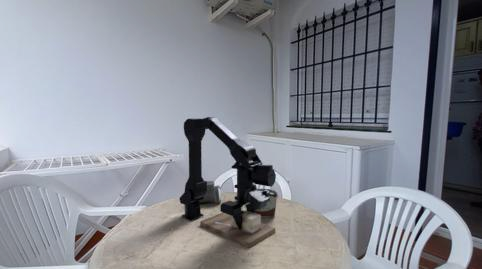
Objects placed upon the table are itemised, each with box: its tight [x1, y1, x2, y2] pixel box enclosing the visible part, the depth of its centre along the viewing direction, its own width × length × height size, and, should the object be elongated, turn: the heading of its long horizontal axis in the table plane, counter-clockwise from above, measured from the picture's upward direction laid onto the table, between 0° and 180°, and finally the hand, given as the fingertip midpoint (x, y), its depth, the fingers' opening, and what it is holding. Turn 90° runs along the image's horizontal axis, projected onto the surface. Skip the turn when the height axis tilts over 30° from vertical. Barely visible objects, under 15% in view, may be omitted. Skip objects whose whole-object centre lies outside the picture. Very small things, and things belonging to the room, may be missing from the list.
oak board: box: [199, 212, 276, 249], centre depth 87 cm, size 24×14×2 cm, turn 48°
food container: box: [256, 188, 279, 218], centre depth 99 cm, size 12×6×10 cm, turn 84°
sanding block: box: [231, 209, 262, 235], centre depth 83 cm, size 9×5×5 cm, turn 51°
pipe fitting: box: [199, 180, 222, 204], centre depth 114 cm, size 12×8×10 cm, turn 88°
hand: (245, 226), depth 84 cm, fingers closed on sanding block, 5 cm apart
